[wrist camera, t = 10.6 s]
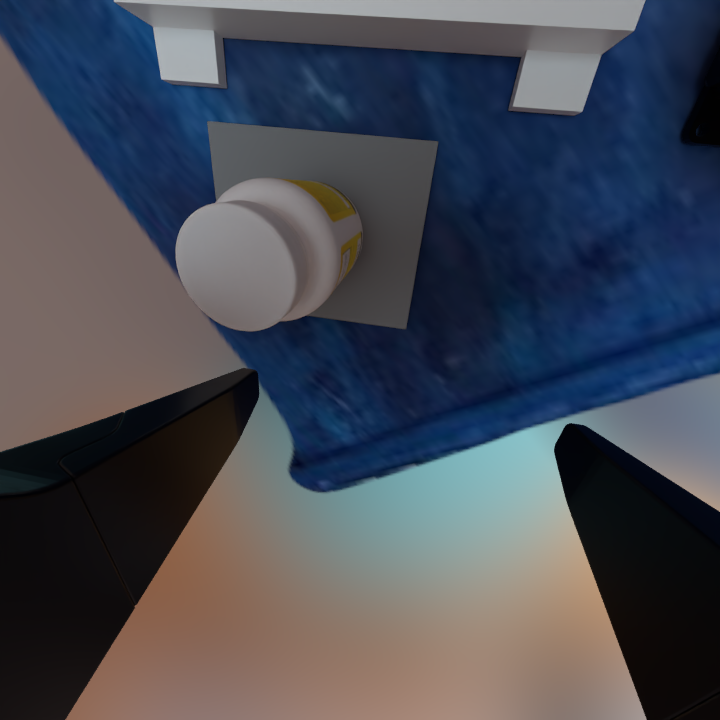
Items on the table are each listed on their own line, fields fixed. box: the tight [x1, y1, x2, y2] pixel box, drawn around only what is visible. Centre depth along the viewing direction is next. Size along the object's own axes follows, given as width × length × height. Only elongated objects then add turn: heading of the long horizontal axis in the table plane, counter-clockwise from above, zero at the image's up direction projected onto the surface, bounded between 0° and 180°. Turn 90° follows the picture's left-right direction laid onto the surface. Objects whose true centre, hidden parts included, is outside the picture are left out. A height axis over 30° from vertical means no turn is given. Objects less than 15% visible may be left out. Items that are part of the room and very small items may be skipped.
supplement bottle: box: [176, 178, 363, 331], centre depth 14 cm, size 5×5×10 cm
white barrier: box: [114, 0, 645, 116], centre depth 13 cm, size 20×5×3 cm, turn 85°
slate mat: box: [207, 121, 438, 329], centre depth 19 cm, size 12×10×1 cm
